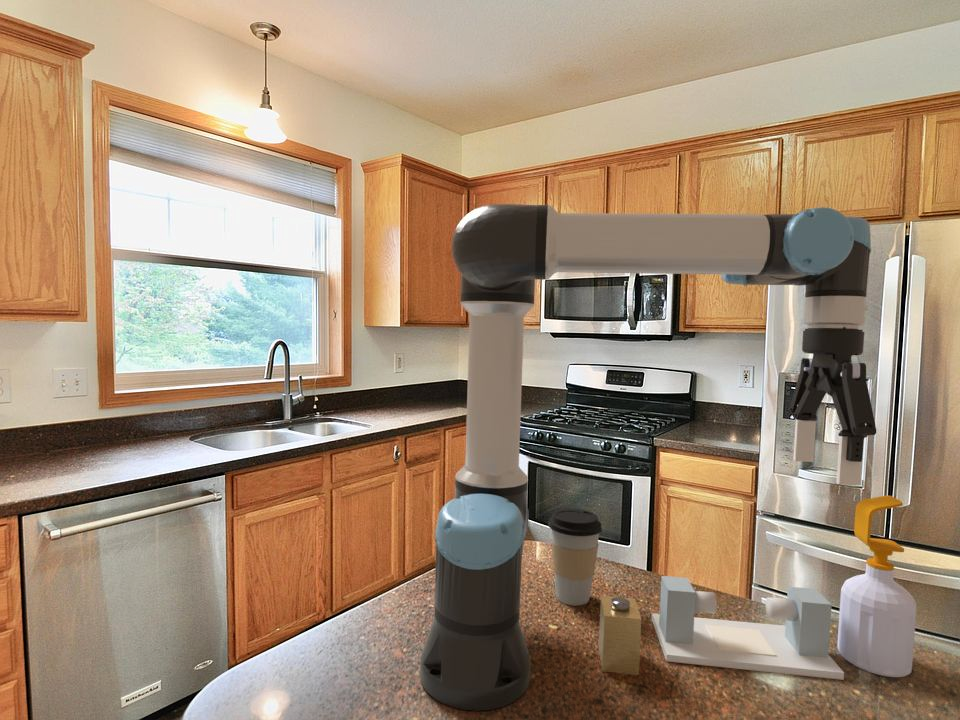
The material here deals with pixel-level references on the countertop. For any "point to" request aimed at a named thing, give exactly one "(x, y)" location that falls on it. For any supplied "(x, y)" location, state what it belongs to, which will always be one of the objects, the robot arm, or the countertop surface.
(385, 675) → the countertop surface
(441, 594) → the robot arm
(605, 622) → the block
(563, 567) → the coffee cup
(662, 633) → the shaft rig
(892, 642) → the soap bottle
